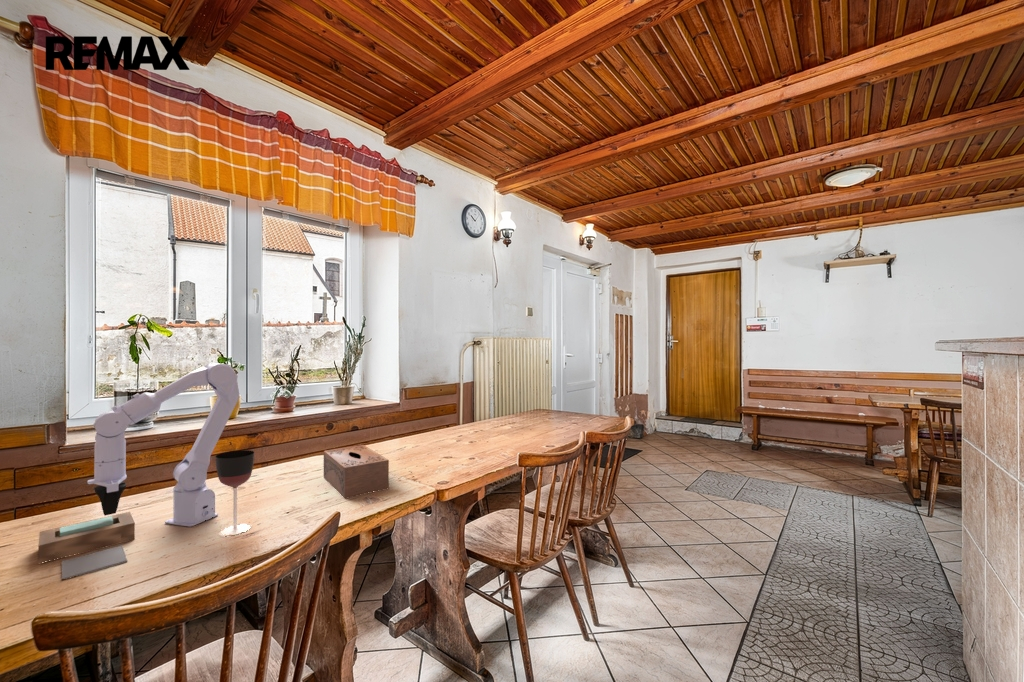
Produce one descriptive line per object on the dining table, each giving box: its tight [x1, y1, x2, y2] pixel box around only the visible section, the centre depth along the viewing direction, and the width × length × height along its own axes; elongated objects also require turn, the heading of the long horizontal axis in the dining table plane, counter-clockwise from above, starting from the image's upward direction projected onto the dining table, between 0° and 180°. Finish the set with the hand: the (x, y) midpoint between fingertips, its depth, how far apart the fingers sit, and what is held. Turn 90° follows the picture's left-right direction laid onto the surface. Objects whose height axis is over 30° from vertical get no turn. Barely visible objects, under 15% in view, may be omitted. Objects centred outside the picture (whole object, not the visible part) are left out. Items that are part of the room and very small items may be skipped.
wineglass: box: [215, 449, 255, 535], centre depth 111 cm, size 8×9×20 cm
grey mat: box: [61, 545, 128, 580], centre depth 94 cm, size 10×10×1 cm
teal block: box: [60, 515, 113, 537], centre depth 102 cm, size 9×4×2 cm, turn 137°
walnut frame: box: [37, 511, 136, 565], centre depth 103 cm, size 16×10×4 cm, turn 137°
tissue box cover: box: [323, 444, 390, 499], centre depth 147 cm, size 26×14×10 cm, turn 38°
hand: (109, 513), depth 105 cm, fingers closed
